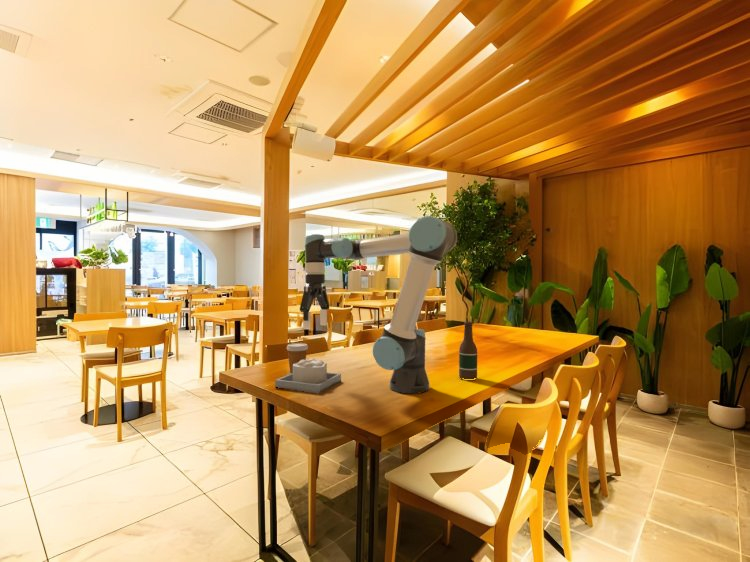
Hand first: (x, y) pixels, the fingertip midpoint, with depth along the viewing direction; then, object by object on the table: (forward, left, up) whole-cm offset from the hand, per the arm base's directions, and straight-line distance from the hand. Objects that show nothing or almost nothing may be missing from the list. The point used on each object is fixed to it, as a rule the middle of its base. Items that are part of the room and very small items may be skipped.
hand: (315, 327), depth 152 cm
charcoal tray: (+2, +2, -22) cm, 23 cm away
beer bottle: (-55, -32, -23) cm, 68 cm away
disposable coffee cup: (+18, -15, -23) cm, 32 cm away
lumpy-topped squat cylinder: (+2, +2, -22) cm, 22 cm away
